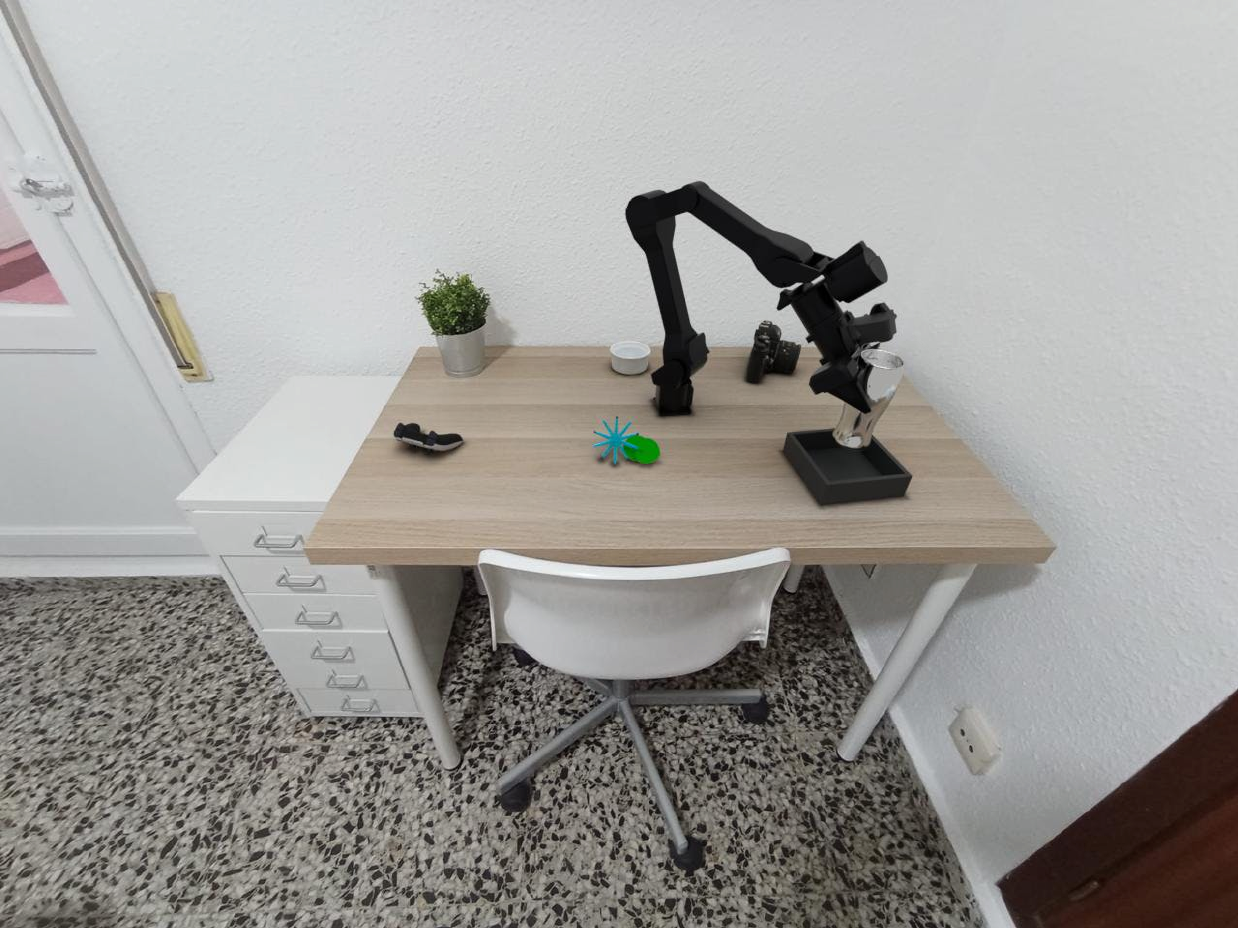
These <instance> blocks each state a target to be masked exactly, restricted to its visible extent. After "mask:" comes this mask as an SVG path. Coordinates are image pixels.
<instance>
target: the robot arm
mask: <svg viewBox="0 0 1238 928" xmlns="http://www.w3.org/2000/svg"><path fill="white" fill-rule="evenodd" d="M624 211H625V212H624V216H625V221H626V224H627V226H628V228H629V231H630V234H631V236H632V238H633V240H634V241H635V242H636V244H637V245H638V246H639V247H640V249H641V250H642V251H643V252H644V255H645V257H646V261H647V265H648V269H649V273H650V274H649V275H650V278H651V282H652V286H653V290H654V294H655V297H656V303H657V306H658V310H659V315H660V318H661V322H662V326H663V330H664V340H663V346H662V350H661V352H662V362H663V365H661V366H660V367H658V368H657V369H655V370H654V371H653V372H651V374H650V378H651V381H652V384H653V386H655V397H652V402H653V404H654V407H655V409H656V411H657V413H658V415H659V416H660V417H667V416H681V415H691V414H692V413H693V412H692V408H691V407H692V406H693V400H694V390H695V388H694V386H693V380H692V379H691V378H692V377H693V376H695V375H696V374H697V373H698V372H699V371H700V370H701V369H703V368H704V367H705V366H706V364H707V362H708V355H709V354H710V353H711V352H710V349H709V348H708V345H707V339H706V338H707V337H706V334H705V332H700V333H698V332H697V331H696V330H695V329H694V327H693V325H692V324H691V320H690V315H689V311H688V306H687V302H686V297H685V294H684V288H683V284H682V280H681V275H680V270H679V266H678V262H677V258H676V254H675V249H674V241H675V240H674V239H675V233H676V227H677V221H676V217H677V216H679V215H682V214H685V213H688V214H690V215H691V216H693V217H694V218H696V219H697V220H698V221H700V222H701V223H703V224H704V225H705V226H707V227H708V228H710V229H711V230H712V231H714V232H715V233H717V234H718V235H720V236H721V237H722V238H724V239H725V240H727V241H728V242H730V243H731V244H732V245H734V246H735V247H736V248H738V249H739V250H741V251H742V252H743V253H745V254H746V256H748V257H749V258H750V260H751V261H752V263H753V266H754V267H755V270H756V271H758V273H760V275H761V276H763V278H764V279H766V280H767V282H768V283H770V284H771V285H772V286H773V287H775V288H778V289H783V290H781V291H780V292H779V299H778V302H777V306H776V311H782V310H783V309H785V308H787V307H788V306H791V308H792V309H793V312H794V313H795V315H796V316H797V318H798V319H799V321H800V322H801V324H802V325H803V327H804V329H805V331H806V332H807V334H808V335H807V336H806V337H804V338H805V341H806V342H807V344H811V343H812V342H813V343H814V345H815V347H816V349H817V350H818V352H819V354H820V355H821V358H820V359H819V360H818V362H819V363H820V365H821V366H820V367H818V368H817V369H816V370H815V371H814V372H813V373H812V374H811V376H810V377H809V382H808V387H810V389H811V391H812V392H813V395H815V396H817V395H820V394H822V393H823V394H827V393H828V395H831V396H833V397H835V398H837V399H839V400H841V401H842V402H843V403H844V402H846V403H847V404H849V405H851V406H852V407H854V408H856V409H857V410H859V411H860V412H862V413H864V414H868V413H870V412H871V411H872V409H871V407H870V404H869V401H868V399H867V397H866V394H865V392H864V390H863V388H862V385H861V383H860V377H861V374H862V371H863V368H860V369H858V367H857V363H856V362H857V360H858V357H859V355H860V353H861V351H863V350H866V349H879V348H880V347H881V344H882V343H887V342H891V340H893V338H894V335H895V334H897V332H898V331H897V324H896V320H897V317H898V316H897V314H896V313H895V311H894V309H891V308H890V307H889V306H888V305H887V303H886V302H879V303H874V305H873V306H872V307H871V309H870V311H869V314H868V313H864V314H863V315H861V316H857V317H855V316H854V313H852V311H851V310H850V311H849V310H848V309H847V310H845V311H843V309H842V307H841V306H840V304H839V303H841V302H843V303H845V304H851V303H853V302H854V301H856V300H858V299H860V298H862V297H863V296H865V295H867V294H868V293H870V292H872V291H874V290H875V289H876V290H877V288H879V287H881V286H883V285H884V284H886V283H887V282H888V281H889V275H888V270H887V268H886V266H885V263H884V261H883V260H882V258H881V256H880V255H877V253H876V252H875V251H874V250H873V249H872V248H870V247H868V246H867V244H866V243H865V241H864V240H860V241H858V242H856V243H855V244H854V245H853V246H851V247H850V248H849V249H848V250H847V251H845V252H844V253H842V254H840V255H839V256H837V257H836V258H834V257H831V256H829V255H827V254H823V253H820V252H818V251H815V250H814V249H813V248H812V246H811V245H810V244H809V243H808V242H806V241H804V240H802V239H800V238H797V237H795V236H793V235H791V234H789V233H784V232H782V231H778V230H773V229H772V228H769V227H766V226H765V225H764V224H762V223H760V222H759V221H757V219H755V218H753V217H752V216H751V215H749V214H748V213H746V212H745V211H743V210H742V209H741V208H739V207H738V206H737V205H735V204H734V203H732V202H731V201H729V200H728V199H726V198H725V197H723V196H722V195H721V194H719V193H718V192H716V191H715V190H713V189H712V188H711V187H710V186H709V184H707V183H706V182H705V181H702V180H695V181H693V182H690V183H687V184H684V185H682V186H681V187H680V188H677V189H674V190H672V191H668V192H666V191H665V190H662V189H654V190H651V191H648V192H644V193H641V194H637V195H635V196H633V197H632V198H631V199H630V200H629V201H628V203H627V205H626V207H625V209H624ZM821 276H823V277H822V278H821V279H820V280H818V281H816V282H814V281H815V280H817V279H818V278H820V277H821ZM813 282H814V283H813ZM796 284H799V285H798V286H796V287H794V288H793V289H788V288H790V287H793V286H794V285H796ZM873 343H876V344H873ZM871 344H873V345H871ZM879 350H880V349H879Z"/></svg>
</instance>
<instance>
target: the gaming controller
mask: <svg viewBox="0 0 1238 928" xmlns="http://www.w3.org/2000/svg"><path fill="white" fill-rule="evenodd" d="M392 435H393V436H392V437H393V438H394V439H395V440H396V441H397V442H401V443H404V444H409V445H410V448H412V449H415V450H417V449H418V448H419V447H421V448H425V449H427V450H426V451H427V453H432V454H435V452H443V451H449V450H452V449H454V448H456V447H458V446H460V445H461V444H462V443H463V442H464V438H463V436H462V435H461V434H459V433H443V434H442V433H441V434H438V433H436V431H434V430H430V431H429V433H424V432H421V426H420V424H418V423H416V422H411V423H407V424H404V423H402V422H399V423H397V425H396V427H395V429H394V430H393V434H392Z"/></svg>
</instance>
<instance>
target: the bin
mask: <svg viewBox="0 0 1238 928" xmlns="http://www.w3.org/2000/svg"><path fill="white" fill-rule="evenodd" d="M835 428H836V427H833V428H823V429H812V430H800V431H787V433H786V436H785V440H784V444H783V448H782V454H783V455H784V457H785V458H786V460H787V461H788V463H790V465H791V466H792V468H793V469H794V470H795V472H796V474H797V475H798V476H799V477H800V479H801V481H802V482H803V483H804V485H805V486H806V487H807V489H808V490H809V492H811V494H812V496H813V497H814V499H815V500H816V501H817V503H818V504H819V506H827V505H836V504H837V505H838V504H846V503H856V502H865V501H874V500H882V499H883V500H884V499H892V498H901V497H905V496H906V493H907V490H908V488H909V486H910V484H911V481H912V480H913V477H914V475H912V474H911V473H910V471H908V469H907V468H906V467H904V465H903V464H902V463H901V462H900V461H899V460H898V459H897V458H896V457H895V456H894V455H893V454H892V453H891V452H890V451H889V450H888V449H887V448H886V447H885V446H884V445H883V444H882V443H881V442H880V441H879V440H878V438H876V436H875V435H874V434H872V437H871V443H870V446H869V447H868V448H867V449H866V450H863V451H853V450H848V449H845V448H843V447H841V446H839V445H838V444H836V443H835V442H834V440H833V439H832V433H833V431H834V429H835Z"/></svg>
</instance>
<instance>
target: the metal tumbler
mask: <svg viewBox="0 0 1238 928" xmlns="http://www.w3.org/2000/svg"><path fill="white" fill-rule="evenodd" d="M856 363H857V367H858V369H860V368H863V371H862V374H861V377H860V383H861V385H862V388H863V390H864V392H865V394H866V397H867V399H868V401H869V404H870V407H871V409H872V411H871V412H870V413H868V414H864V413H862V412H860V411H859V410H857V409H856V408H854V407H852V406H851V405H849V404H847V403H846V402H844V401H843V407H842V413H841V416H840V419H839V421H838V423H837V424H836V427H834V428H835V429H834V431H833V433H832V439H833V440H834V442H835V443H836V444H838V445H839V446H841V447H843V448H845V449H848V450H853V451H863V450H866V449H867V448H868V447H869V446H870V443H871V437H872V435H873V433H874V430H875V427H876V426H877V423H878V422H879V420H880V419H881V417H882V416H883V414H884V412H885V411H886V410H887V408H888V407H889V406H890V404H891V402H892V400H893V399H894V397H895V395H896V392H897V391H898V388H899V385H900V382H901V380H902V377H903V373H904V370H905V368H906V364H907V363H906V361H905V360H904V359H903V357H901V356H900V355H897V354H896V353H893V352H891V351H888V350H884V349H866V350H863V351H861V353H860V355H859V357H858V360H857V362H856Z"/></svg>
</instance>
